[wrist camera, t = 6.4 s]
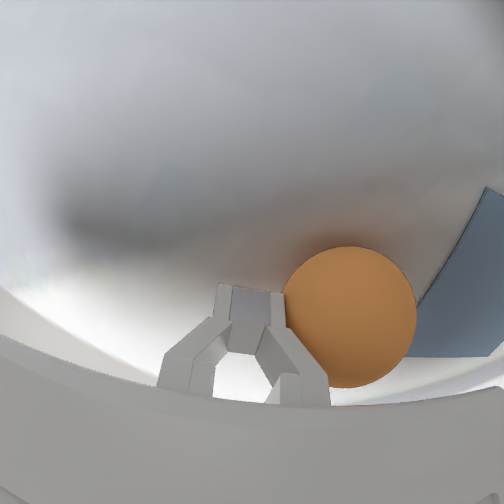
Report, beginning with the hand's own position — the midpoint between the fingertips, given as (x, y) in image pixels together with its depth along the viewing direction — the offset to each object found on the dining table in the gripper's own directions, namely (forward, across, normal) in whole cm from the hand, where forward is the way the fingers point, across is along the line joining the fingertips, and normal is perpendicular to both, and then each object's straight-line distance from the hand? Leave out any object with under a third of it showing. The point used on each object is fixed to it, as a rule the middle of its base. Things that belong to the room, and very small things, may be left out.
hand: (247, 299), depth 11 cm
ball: (0, -4, 0) cm, 4 cm away
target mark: (+2, -15, 0) cm, 16 cm away
